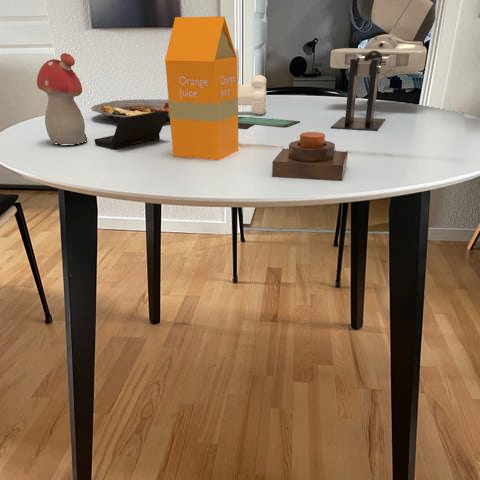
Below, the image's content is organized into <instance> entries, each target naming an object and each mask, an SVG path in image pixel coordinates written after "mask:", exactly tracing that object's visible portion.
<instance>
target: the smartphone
mask: <svg viewBox="0 0 480 480" xmlns="http://www.w3.org/2000/svg"><path fill="white" fill-rule="evenodd" d="M300 123H301V121H300V120H294V119H279V118H268V117H254V116H238V129H244V130H245V129H246V130H249V129H250V128H252V127H253V126H254V127H255V126H262V127H272V128H273V127H274V128H281V129H282V128H283V129H285V128H286V129H287V128H289V127H293V126H295V125H297V124H300Z"/></svg>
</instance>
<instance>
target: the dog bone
mask: <svg viewBox="0 0 480 480" xmlns="http://www.w3.org/2000/svg"><path fill="white" fill-rule="evenodd" d="M267 82H268V81H267V78H266V77H265V76H264V75H263V74H258V75H255V76H254V77H252V80H251V84H239V85H238V106H251V112H252V113H253V114H255V115H264V113H265V112H266V109H267V93H268V91H267Z"/></svg>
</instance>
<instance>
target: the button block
mask: <svg viewBox="0 0 480 480" xmlns="http://www.w3.org/2000/svg"><path fill="white" fill-rule="evenodd" d="M299 145H300V139H298V140H295V141H291V142H290V143H288V148H282V149H281V150H280V151H279V152H278V154H277V155H276V157H275V158H274V159H273V160H272V161H271V162H272V164H271V166H272V167H271V168H272V169H271V178H284V179H285V178H286V179H301V180H302V179H303V180H319V181H334V182H335V181H338V182H342V181H343V179H344V176H345V172H346V170H347V165H348V155H349V152H348V151H344V150H343V151H341V150H338V151H337V150H336V143H334V142H333V141H329V140H325V145H324V147H317V148H309V147H301V146H299Z"/></svg>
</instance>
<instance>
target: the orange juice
mask: <svg viewBox="0 0 480 480" xmlns="http://www.w3.org/2000/svg"><path fill="white" fill-rule="evenodd" d="M234 49H235V47H234V44H233V41H232V37H231V34H230V31H229V27H228V24H227V20H226V16H174V21H173V25H172V28H171V34H170V37H169V41H168V45H167V50H166V54H165V58H164V62H165V74H166V86H167V100H169V101H168V104H169V116H170V118H169V123H170V136H171V143H172V144H171V146H172V147H171V148H172V156H173V157H179V158H188V159H202V160H211V161H221V160H222V159H225V158H227V157H228V156H231V155H234V153H236V152H238V151H239V128H238V117H239V105H238V87H237V57H236V54H235V51H234Z"/></svg>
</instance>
